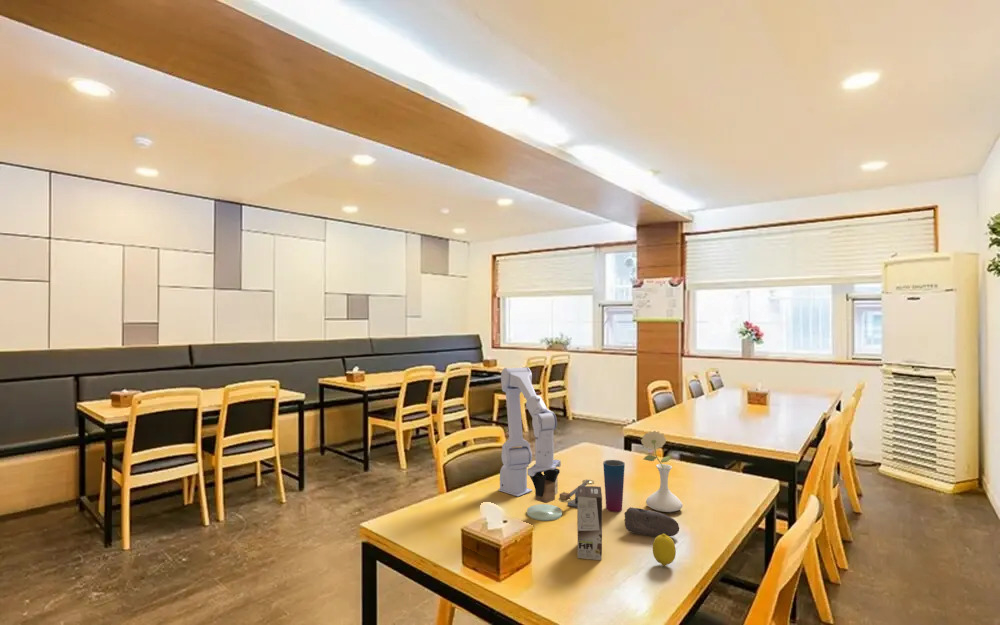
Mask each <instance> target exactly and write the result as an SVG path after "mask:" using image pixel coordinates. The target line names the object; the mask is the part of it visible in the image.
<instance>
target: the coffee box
mask: <svg viewBox="0 0 1000 625" xmlns="http://www.w3.org/2000/svg"><path fill="white" fill-rule="evenodd" d="M577 487H578V498H577V499H578V500H577V508H576V509H577V516H576V517H577V523H576V524H577V526H576V527H577V529H576V530H577V559H585V560H594V561H595V560H596V561H601V560H602V559H603V558H602V555H603V554H602V553H603V551H602V550H603V549H602V548H603V493H602V486H596V485H595V486H593V485H590V486H589V485H586V486H580V485H578V486H577Z"/></svg>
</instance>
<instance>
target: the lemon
mask: <svg viewBox="0 0 1000 625" xmlns="http://www.w3.org/2000/svg"><path fill="white" fill-rule="evenodd" d="M652 543H653V544H652V554H653V557H654V559H655V561H657V562H658V564H661V565H662V566H663V567H666V566H668V565H670V564H671V563H673V562H674V560H675V559H676V553H677V552H676V551H677V549H676V544H675V543H674V540H673V539H672V537H671V536H670V537H669V536H667V535H666V534H662V535H659V536H655V538H654V540H653V542H652Z"/></svg>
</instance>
